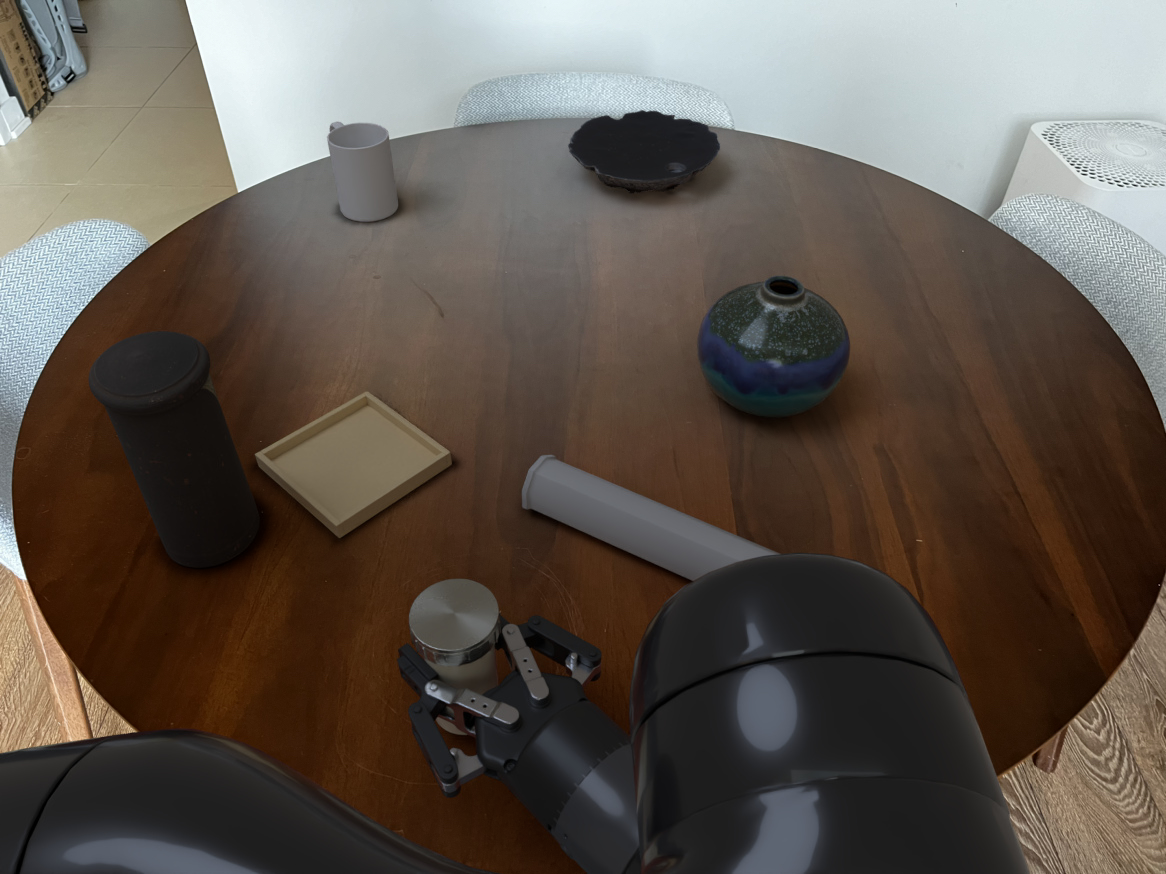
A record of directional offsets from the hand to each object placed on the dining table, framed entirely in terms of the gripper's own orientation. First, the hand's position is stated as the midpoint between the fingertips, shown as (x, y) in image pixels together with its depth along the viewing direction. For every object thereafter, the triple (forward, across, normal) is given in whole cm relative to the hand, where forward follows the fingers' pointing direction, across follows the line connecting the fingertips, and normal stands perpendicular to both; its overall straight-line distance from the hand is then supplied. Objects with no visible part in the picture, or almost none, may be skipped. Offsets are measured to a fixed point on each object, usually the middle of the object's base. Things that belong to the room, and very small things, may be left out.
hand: (436, 630), depth 65 cm
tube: (-1, -22, +8) cm, 24 cm away
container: (+27, +5, +8) cm, 29 cm away
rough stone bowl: (+50, -74, +6) cm, 89 cm away
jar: (-3, 0, +6) cm, 7 cm away
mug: (+70, -38, +6) cm, 80 cm away
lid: (-3, 0, -4) cm, 5 cm away
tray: (+26, -9, +7) cm, 28 cm away
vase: (+6, -47, +8) cm, 48 cm away
